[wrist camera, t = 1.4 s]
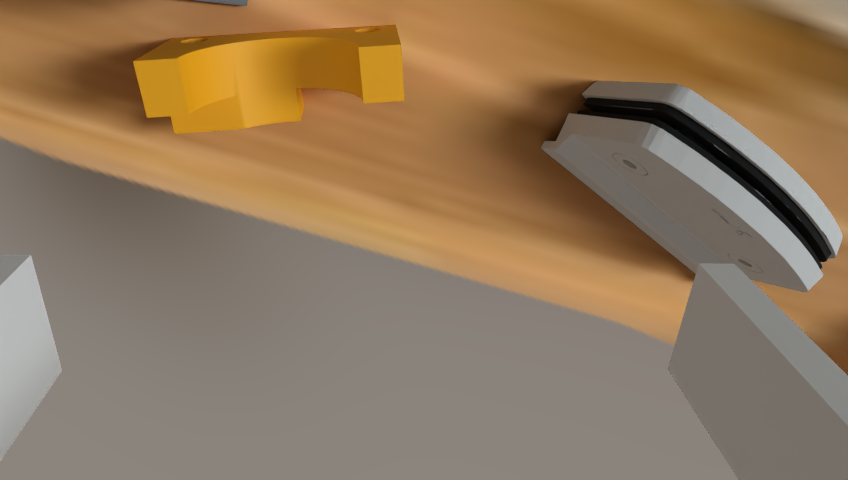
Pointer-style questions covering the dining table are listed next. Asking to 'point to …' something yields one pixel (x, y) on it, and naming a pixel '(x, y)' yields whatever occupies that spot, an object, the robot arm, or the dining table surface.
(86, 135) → the dining table surface
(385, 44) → the pipe clamp
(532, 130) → the dining table surface
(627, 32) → the dining table surface
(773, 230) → the grey rounded block
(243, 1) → the mat
